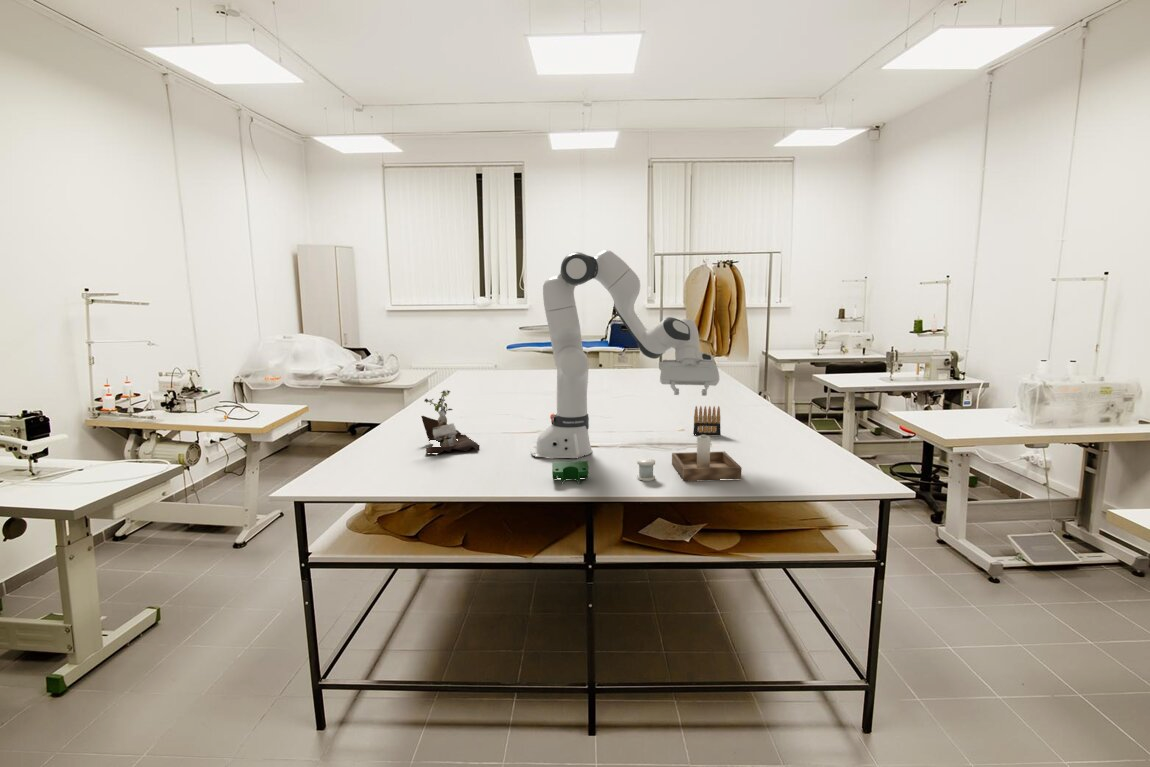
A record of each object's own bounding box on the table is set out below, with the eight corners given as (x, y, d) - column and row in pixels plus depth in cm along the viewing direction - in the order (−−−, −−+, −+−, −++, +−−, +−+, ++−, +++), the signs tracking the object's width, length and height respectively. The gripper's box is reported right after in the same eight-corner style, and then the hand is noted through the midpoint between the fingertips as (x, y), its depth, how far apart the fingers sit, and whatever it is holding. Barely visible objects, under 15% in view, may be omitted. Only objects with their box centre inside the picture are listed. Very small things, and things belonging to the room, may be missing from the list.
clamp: (559, 497, 183) (547, 474, 179) (558, 486, 188) (547, 464, 185) (594, 483, 181) (583, 460, 178) (593, 472, 187) (582, 450, 183)
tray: (683, 481, 182) (683, 469, 181) (671, 464, 200) (671, 452, 199) (741, 479, 183) (741, 467, 182) (724, 462, 200) (724, 451, 200)
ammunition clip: (720, 434, 238) (720, 405, 236) (720, 435, 236) (721, 406, 234) (693, 434, 240) (693, 405, 238) (693, 435, 238) (694, 406, 236)
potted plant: (428, 464, 213) (412, 397, 214) (429, 462, 231) (414, 400, 232) (482, 449, 218) (466, 384, 219) (479, 449, 236) (464, 388, 237)
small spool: (638, 481, 183) (638, 463, 182) (636, 476, 188) (636, 458, 187) (656, 481, 183) (656, 463, 182) (653, 475, 188) (653, 458, 187)
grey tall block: (698, 469, 191) (699, 437, 189) (695, 465, 195) (695, 434, 193) (711, 468, 191) (711, 436, 189) (707, 464, 195) (708, 433, 193)
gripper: (659, 354, 206) (661, 389, 199) (718, 356, 205) (722, 390, 198) (657, 364, 211) (659, 398, 204) (715, 365, 211) (718, 399, 204)
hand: (690, 394), depth 201 cm, fingers open, 8 cm apart
